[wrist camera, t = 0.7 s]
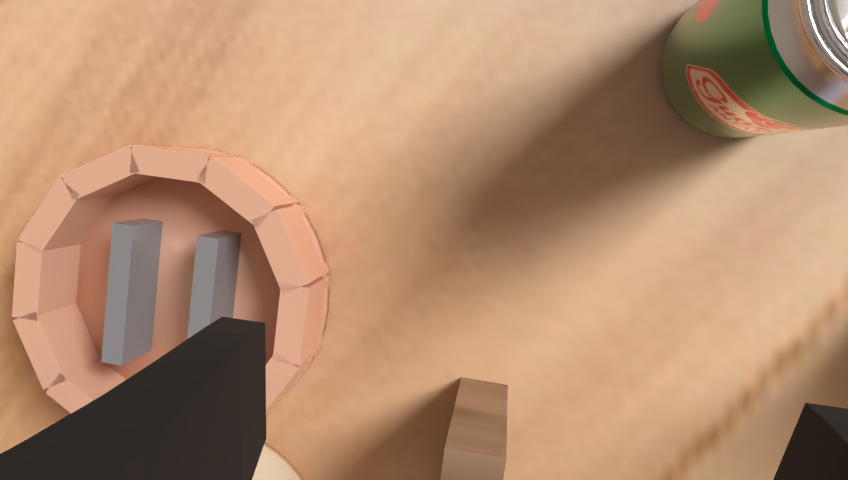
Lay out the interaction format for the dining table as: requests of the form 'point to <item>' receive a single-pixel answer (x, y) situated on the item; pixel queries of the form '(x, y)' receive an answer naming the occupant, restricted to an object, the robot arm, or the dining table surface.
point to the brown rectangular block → (477, 433)
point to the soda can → (759, 66)
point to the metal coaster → (274, 466)
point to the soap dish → (164, 268)
